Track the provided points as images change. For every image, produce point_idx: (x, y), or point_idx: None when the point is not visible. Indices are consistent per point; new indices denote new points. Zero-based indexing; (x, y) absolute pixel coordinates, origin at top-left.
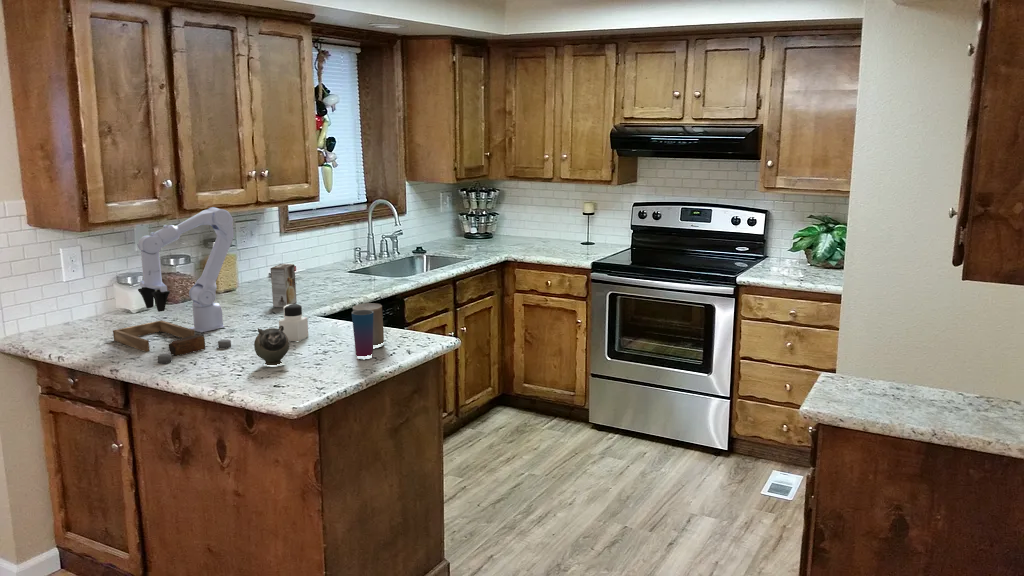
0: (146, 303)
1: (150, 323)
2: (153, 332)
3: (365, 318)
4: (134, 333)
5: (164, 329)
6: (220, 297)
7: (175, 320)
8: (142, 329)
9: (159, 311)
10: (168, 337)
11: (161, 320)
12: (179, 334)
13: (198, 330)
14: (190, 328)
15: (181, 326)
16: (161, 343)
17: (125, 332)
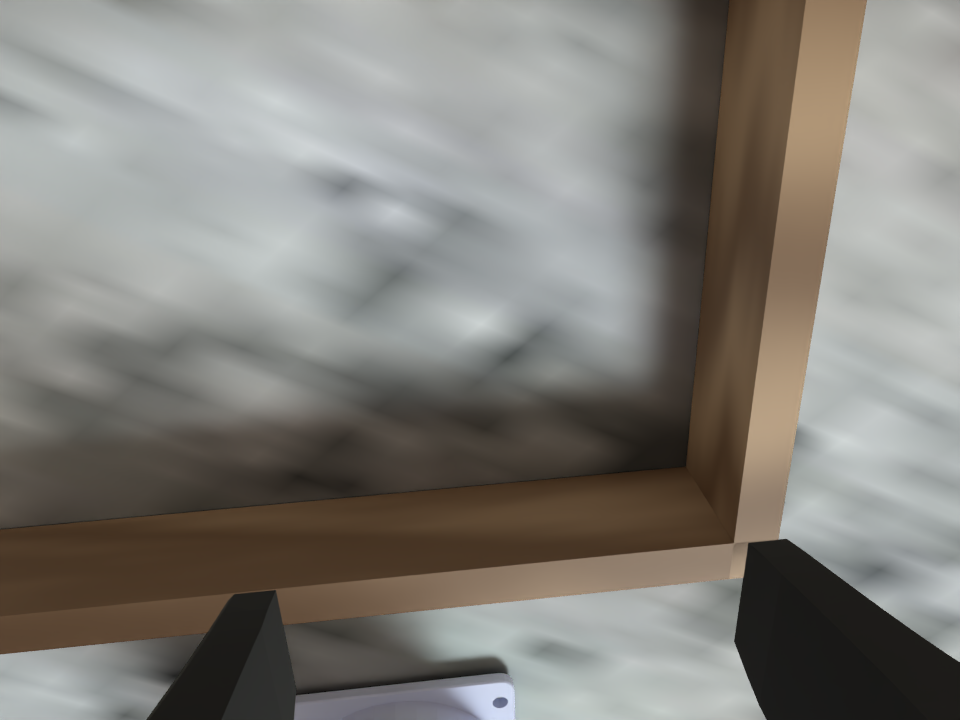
0: (812, 619)
1: (752, 427)
2: (694, 388)
3: None
4: (736, 153)
5: (612, 496)
6: None
7: None
8: (737, 284)
9: (230, 605)
10: (358, 421)
11: None
12: (258, 526)
13: (333, 705)
14: (480, 683)
15: None
16: (119, 249)
17: (774, 11)
